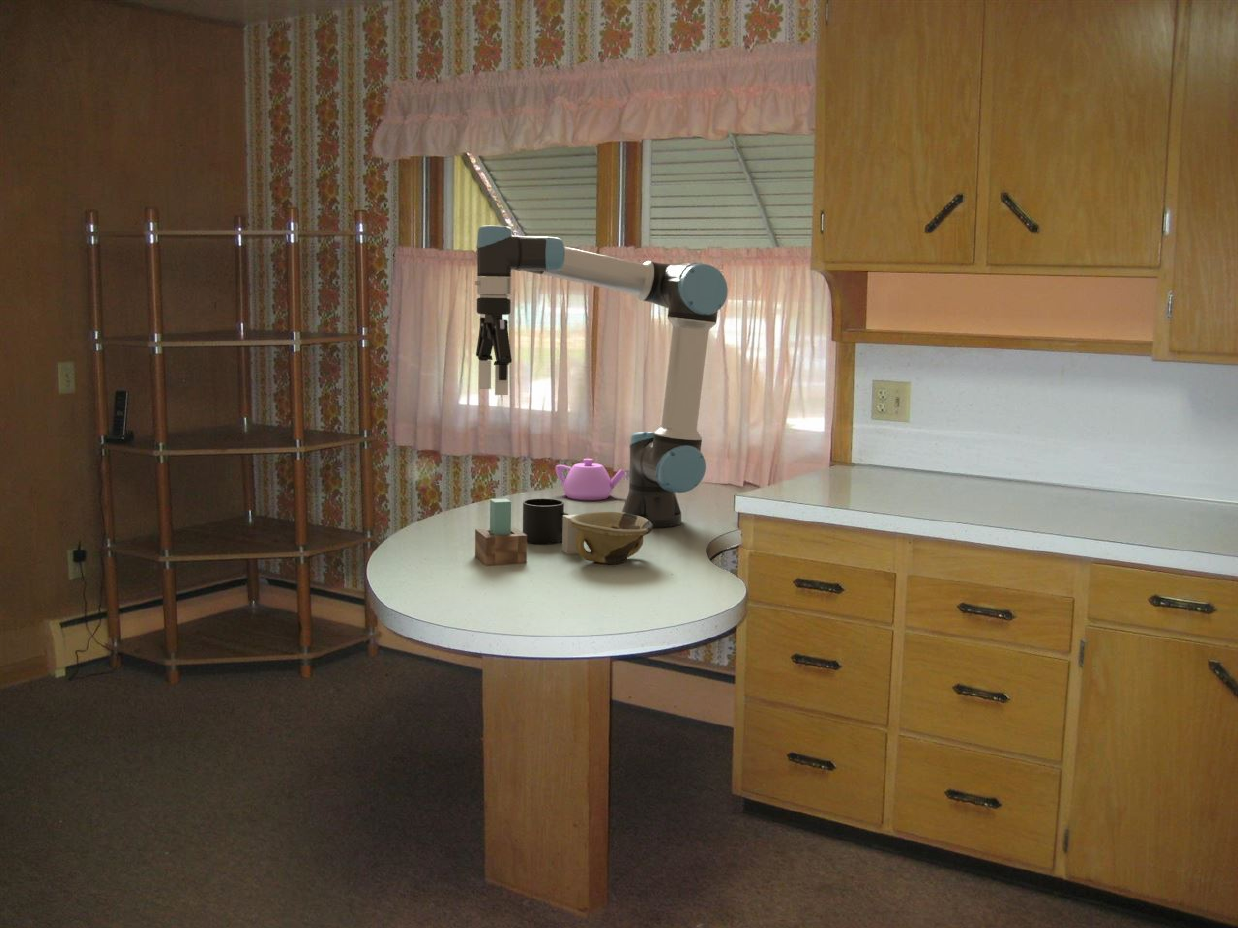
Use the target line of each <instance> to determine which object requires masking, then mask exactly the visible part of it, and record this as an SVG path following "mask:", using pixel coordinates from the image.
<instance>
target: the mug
mask: <svg viewBox="0 0 1238 928" xmlns="http://www.w3.org/2000/svg"><path fill="white" fill-rule="evenodd" d="M564 507H565V504H564V501H563V500H559V499H554V498H531V499H530V498H529V499H526V500H524V501H523V502H522V532H523V533H524V534H526V535H527V544H531V545H532V544H533V545H554V544H559V543H561V542H562V525H563V515H570V514H569V513H567V512H565V511H564V509H565V508H564Z"/></svg>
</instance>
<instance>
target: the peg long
mask: <svg viewBox="0 0 1238 928" xmlns="http://www.w3.org/2000/svg"><path fill="white" fill-rule="evenodd" d="M511 527H512V501H511V500H509V499H508V498H490V499H489V528H490V534H492V535H507V534H511Z"/></svg>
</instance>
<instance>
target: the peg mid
mask: <svg viewBox="0 0 1238 928" xmlns="http://www.w3.org/2000/svg"><path fill="white" fill-rule="evenodd" d="M576 515H577V514H569V515H563V525H562V541H561V542H562V543H561V550H562V552H564V553H565V554H567V555H571V554H579V553H578V552H577V549H576V539H577V536H578V532H579V531H578V530H577V528H574V527H572V525H571V521H570V519H571V518H572V517H573V516H576Z"/></svg>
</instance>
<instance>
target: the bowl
mask: <svg viewBox="0 0 1238 928" xmlns="http://www.w3.org/2000/svg"><path fill="white" fill-rule="evenodd" d="M575 515H576V516H573V517H572V518H571V519H570V521H571V525H572V527H574V528H577V530H578V531H579V532H578V536H577V539H576V549H577V552H578V553H577V554H578V555H579V556H580V557H581V558H583V559H585V560H586V561H590V562H595V563H599V564H605V565H619V564H622V563H624V562H625V561H627V559H628V558H630V557H631V556H633V555H635V554H636V553H638V552H639V551H640V549H641V548H642V547H643V546H644V545H643V544H644V536H646V535H648V534H650V533H651V532H652V529H653V524H652V523H651V522H650V521H649V520H647V519H645V518H643V517H640V516H637V515H633V514H629V513H623V512H622V511H595V512H584V513H583V512H582V513H579V514H575ZM585 544H586V545H587V547H588V549H589V550H590V551H588V550H587V549H586V548H585Z"/></svg>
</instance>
